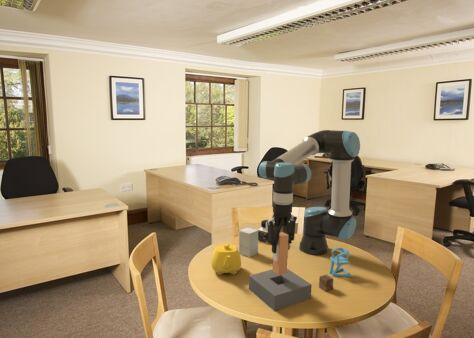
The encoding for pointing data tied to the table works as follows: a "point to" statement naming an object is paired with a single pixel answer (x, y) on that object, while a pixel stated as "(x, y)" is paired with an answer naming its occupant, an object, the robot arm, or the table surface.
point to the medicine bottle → (263, 232)
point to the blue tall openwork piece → (339, 262)
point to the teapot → (226, 259)
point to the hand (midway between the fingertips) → (280, 258)
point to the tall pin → (281, 255)
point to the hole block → (279, 288)
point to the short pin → (326, 283)
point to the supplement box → (248, 242)
